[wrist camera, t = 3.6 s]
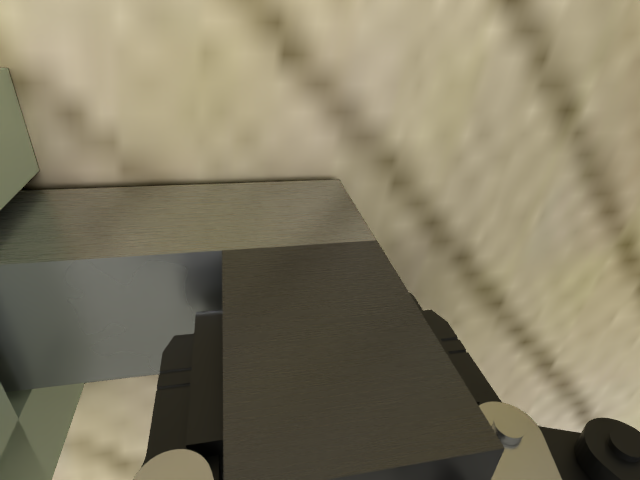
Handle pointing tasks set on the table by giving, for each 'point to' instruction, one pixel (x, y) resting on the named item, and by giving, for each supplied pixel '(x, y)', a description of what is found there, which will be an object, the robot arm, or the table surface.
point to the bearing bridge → (42, 403)
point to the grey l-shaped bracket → (243, 323)
